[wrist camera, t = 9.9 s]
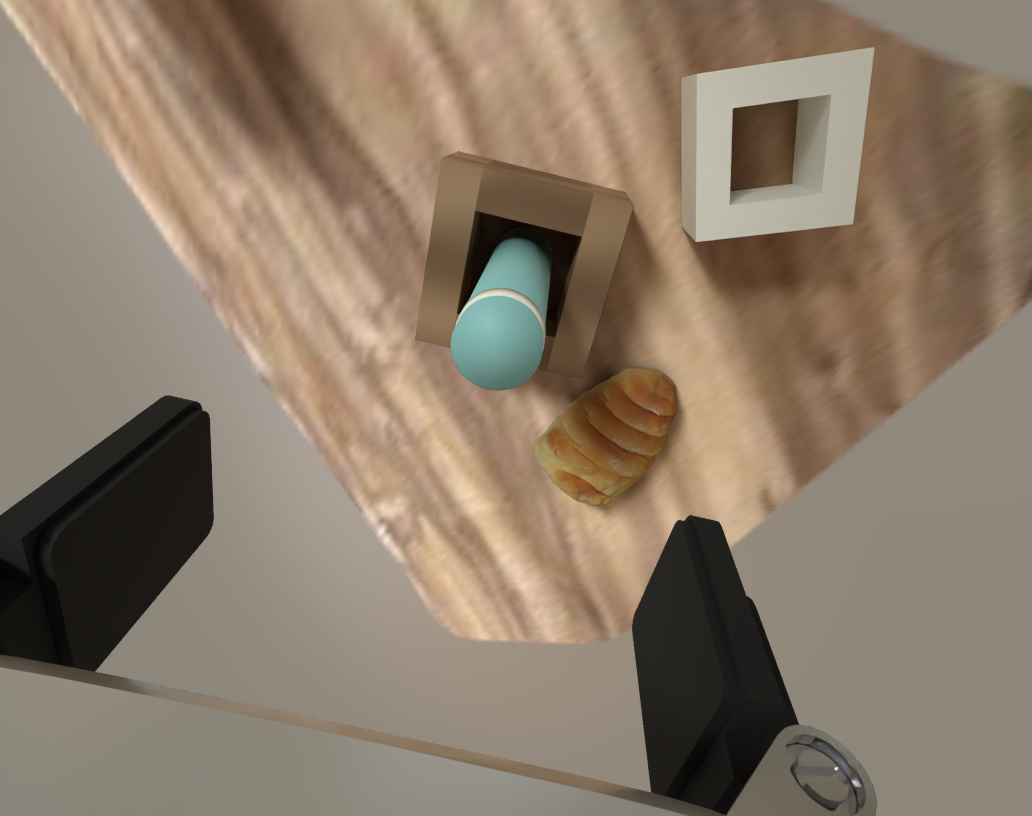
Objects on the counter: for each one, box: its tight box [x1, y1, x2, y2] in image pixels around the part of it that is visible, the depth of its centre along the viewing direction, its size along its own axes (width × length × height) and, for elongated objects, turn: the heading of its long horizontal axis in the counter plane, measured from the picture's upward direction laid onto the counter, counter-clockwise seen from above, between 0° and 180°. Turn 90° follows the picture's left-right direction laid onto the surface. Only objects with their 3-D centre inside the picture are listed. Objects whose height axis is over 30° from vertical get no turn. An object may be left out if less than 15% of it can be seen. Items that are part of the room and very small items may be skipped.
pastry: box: [533, 367, 678, 506], centre depth 36 cm, size 9×7×4 cm
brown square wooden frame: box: [415, 151, 634, 379], centre depth 31 cm, size 9×9×4 cm
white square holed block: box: [681, 47, 875, 242], centre depth 27 cm, size 7×7×4 cm
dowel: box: [451, 227, 552, 390], centre depth 26 cm, size 3×3×14 cm
